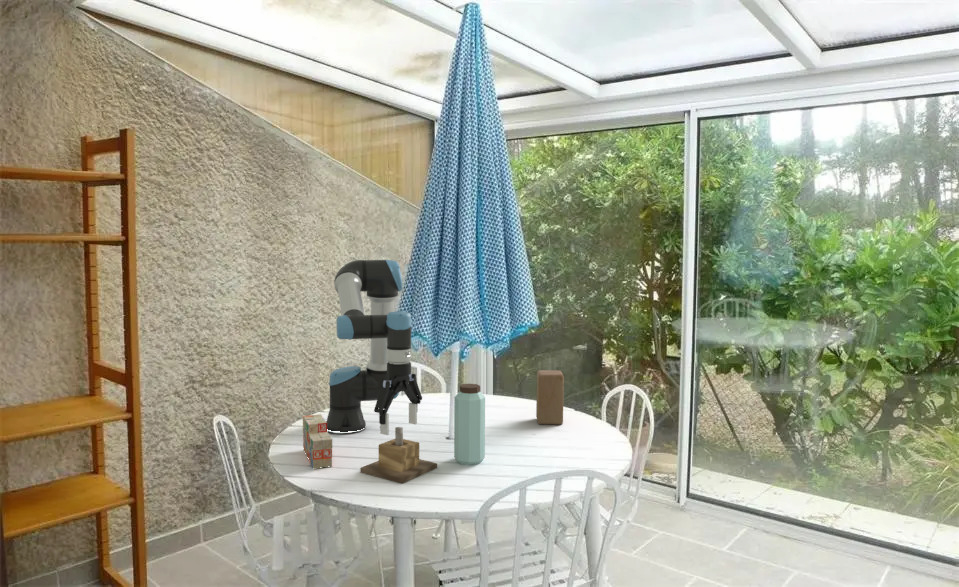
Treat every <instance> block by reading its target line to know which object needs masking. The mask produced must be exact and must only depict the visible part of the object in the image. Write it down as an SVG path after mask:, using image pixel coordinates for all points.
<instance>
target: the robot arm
mask: <svg viewBox="0 0 959 587" xmlns="http://www.w3.org/2000/svg"><path fill="white" fill-rule="evenodd" d="M333 282H334V289H335V292H336V293H337V294H338V298H339V299H338V300H339V301H338V302H339V308H340V315H339V316H336V319H335V322H336V323H335V324H336V326H335V327H336V336H337V338H338V339H339V340H348V341H350V340H367V339H370V360H369V362H368V363H367V364H366V366H365V367H366V369H364V370H362V369H361V367H360V366H357V365H355V366H353V365H352V366H350V365H349V366H345V367H340V368H337V369H334V370H332V371H331V372H330V374H329V381H328V385H329V411H328V414H327V418H326V420H325V421H326V422H327V429H328V430H331V431H340V432H348V431H357V430H361V429H363V428H365V426H366V420H365V419H364V415H363V412H362V407H361V406H362V405H361V404H362V403H361V402H368V401H370V402H371V401H372V402H373V401H376V403H375V406H374V410H373V412H374V413H377V414H378V415H379V416H378V417H379V425H380V426H379V428H380V429H379V431H380V434H382V435H385V436H388V435H390V434H389V431H390V429H389V428H390V427H389V426H390V424H389V423H390V422H389V421H390V420H389V415H390V414H389V413H388V412H389V409H390V406H391V404H392V402H393V401H394V400H395V399H396V398H397V397H399V394H400V393H401V392H404V394H405V395H406V397H407V398H408V400H409V401H410V402H409V403H408V424H411V425H417V424H418V422H417V421H418V417H417V416H418V414H417V413H418V406H419V405H420V404H421V401H422V400H423V396H422V393H421V389H420V388H419V385H418V382H417V374H416V373H412V362H411V361H412V324H413V323H412V315H411V313H410V312H407V311H400V310H399V311H396V310H394V309H395V300H396V299H397V298H398V297H399V292H402V291H403V276H402V271H401V267H400V264H399V263H398V261H397V260H390V259H365V260H364V259H356V260H352V261H349V262H348V263H346V264H344V265H343V266H342V267H340V269H339V270H337V273H336V274H335V277H334V280H333ZM361 292H366V297H367V298H368V299H369V300H370V314H365V310H364V303H363V299H362V293H361ZM418 404H419V405H418ZM365 429H366V428H365Z"/></svg>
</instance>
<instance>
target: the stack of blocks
mask: <svg viewBox="0 0 959 587" xmlns="http://www.w3.org/2000/svg"><path fill="white" fill-rule="evenodd" d="M326 421H327V420H325V418H324V417H323V415H322V414H310V415H302V433H303V434H302V436H303V437H302V438H303V440H302V441H303V443H302V444H303V446H302V447H303V448H304V449H303V452H304V451H305V453H306V455H307V457H308V458H309V460H310V462H309V465H310V464H311V465H310V467H311V469H313V468H320V467H328V466H332V467H333V438H332V437H331V435H330V433H329V432H327V422H326ZM305 453H304V454H305ZM306 455H305V456H306ZM307 457H306V458H307ZM308 458H307V459H308ZM309 460H308V461H309ZM328 468H329V467H328ZM320 469H321V468H320Z"/></svg>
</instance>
